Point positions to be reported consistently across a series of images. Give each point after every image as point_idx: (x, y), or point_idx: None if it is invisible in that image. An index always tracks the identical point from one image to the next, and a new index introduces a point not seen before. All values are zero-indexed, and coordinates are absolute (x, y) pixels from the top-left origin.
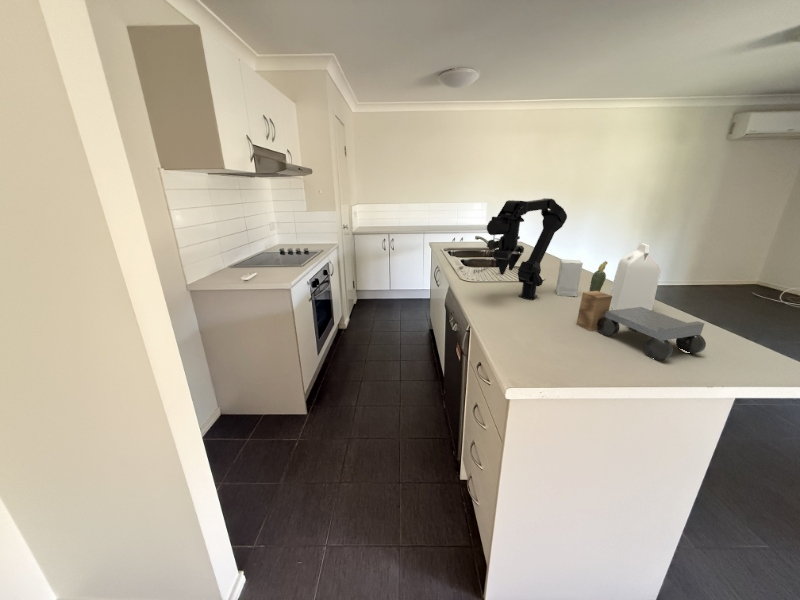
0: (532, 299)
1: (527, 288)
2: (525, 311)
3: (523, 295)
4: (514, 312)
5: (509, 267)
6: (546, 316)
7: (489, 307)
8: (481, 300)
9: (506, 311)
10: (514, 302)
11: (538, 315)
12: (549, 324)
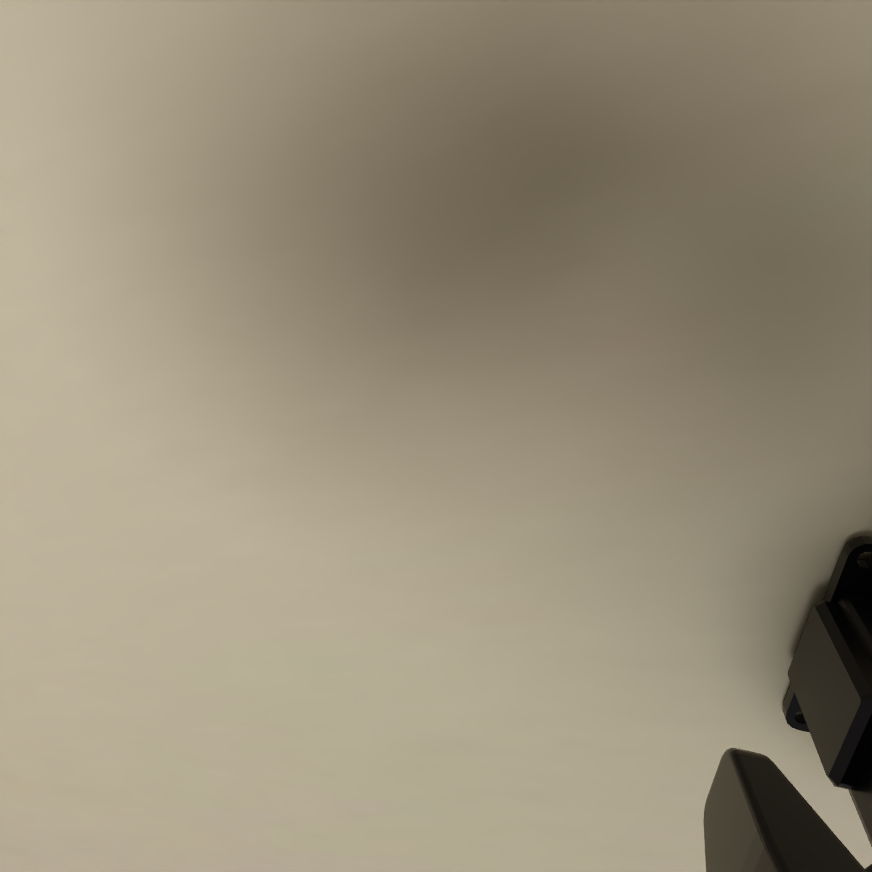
0: (783, 710)
1: (853, 757)
2: (292, 653)
3: (815, 627)
4: (186, 558)
5: (745, 838)
6: (279, 816)
7: (148, 257)
8: (368, 30)
9: (157, 478)
10: (553, 513)
11: (259, 759)
12: (109, 826)
